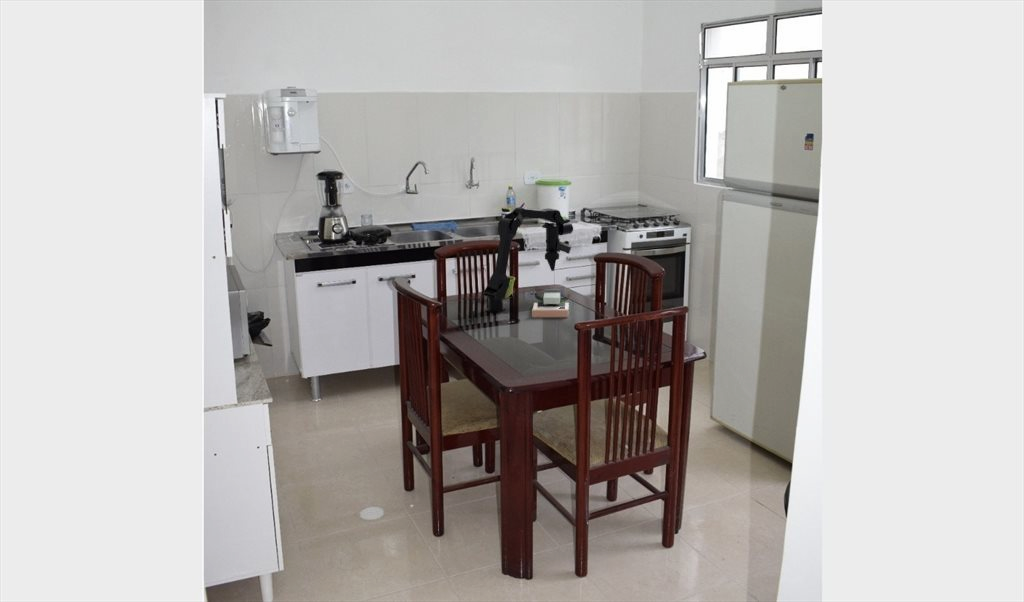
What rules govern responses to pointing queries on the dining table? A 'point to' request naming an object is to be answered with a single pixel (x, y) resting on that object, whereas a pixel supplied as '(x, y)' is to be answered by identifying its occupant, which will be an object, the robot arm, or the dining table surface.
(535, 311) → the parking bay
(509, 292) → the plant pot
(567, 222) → the robot arm
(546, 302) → the pale green box
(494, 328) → the dining table surface
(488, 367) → the dining table surface
